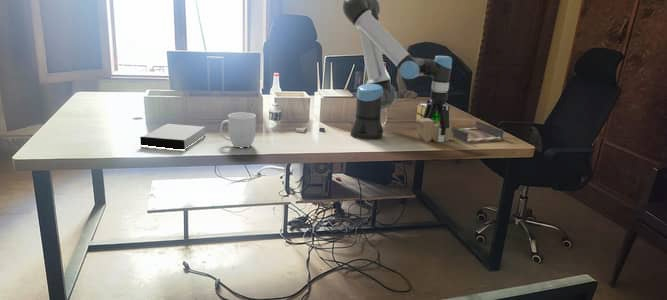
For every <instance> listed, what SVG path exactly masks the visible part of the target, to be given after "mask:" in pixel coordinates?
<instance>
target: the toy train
mask: <svg viewBox="0 0 667 300" xmlns="http://www.w3.org/2000/svg"><path fill="white" fill-rule="evenodd" d="M416 123H417V130H416V134H417V135H418V138H420V139H421V140H422V141H423V142H426V143H429V142H431V141H432V140H433V141H434V142H438V135H439V128H440V127H441V126H440V122H438V121H436V120H434V121H433V120H431V119H429V118H418V119H417V122H416ZM451 123H452V120H451V119H449V126H450V127H449V128H446V130H445V135H444V141H445V142H448V141H449V140H450V138H451V137H452V136H454V134H453V132H452V131H451V130H452V127H453V125H452V124H451Z"/></svg>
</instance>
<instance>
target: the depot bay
mask: <svg viewBox="0 0 667 300" xmlns="http://www.w3.org/2000/svg"><path fill="white" fill-rule="evenodd" d="M451 131H452V132H453V134H454V136H452V137H450V138H451V139H454V140H456V141H458V142H459V143H463V144H464V145H465V144H466V145H468V144H476V143H477V144H479V143H487V142H488V143H489V142H499V141H503V136H504V130H503V129H501V128H497V127H495V126H493V125H490V124H488V123H487V124H486V123H484V122H482V121H480V120H477V121H476V122H475V127H468V128H457V127H454V126H452V130H451Z"/></svg>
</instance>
